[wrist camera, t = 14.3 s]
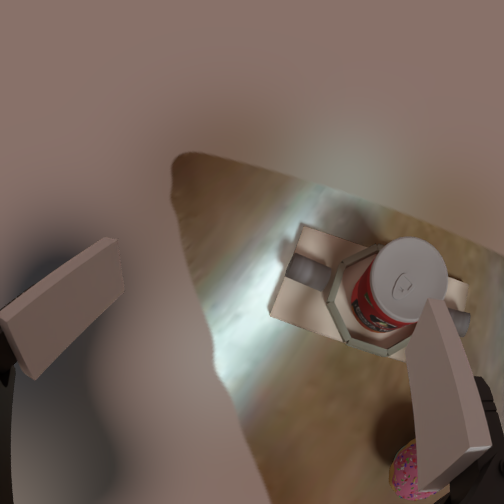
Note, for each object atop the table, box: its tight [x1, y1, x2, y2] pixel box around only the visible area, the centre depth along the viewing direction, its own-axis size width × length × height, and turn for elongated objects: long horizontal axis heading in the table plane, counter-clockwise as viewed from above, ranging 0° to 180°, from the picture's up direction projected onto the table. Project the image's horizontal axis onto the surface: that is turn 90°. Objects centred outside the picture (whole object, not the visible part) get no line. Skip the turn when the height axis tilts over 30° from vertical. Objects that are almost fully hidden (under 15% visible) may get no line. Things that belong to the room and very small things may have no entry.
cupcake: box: [389, 439, 443, 501], centre depth 23 cm, size 9×8×12 cm
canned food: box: [351, 237, 448, 333], centre depth 30 cm, size 8×8×11 cm
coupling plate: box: [270, 226, 470, 363], centre depth 34 cm, size 24×13×5 cm, turn 68°
